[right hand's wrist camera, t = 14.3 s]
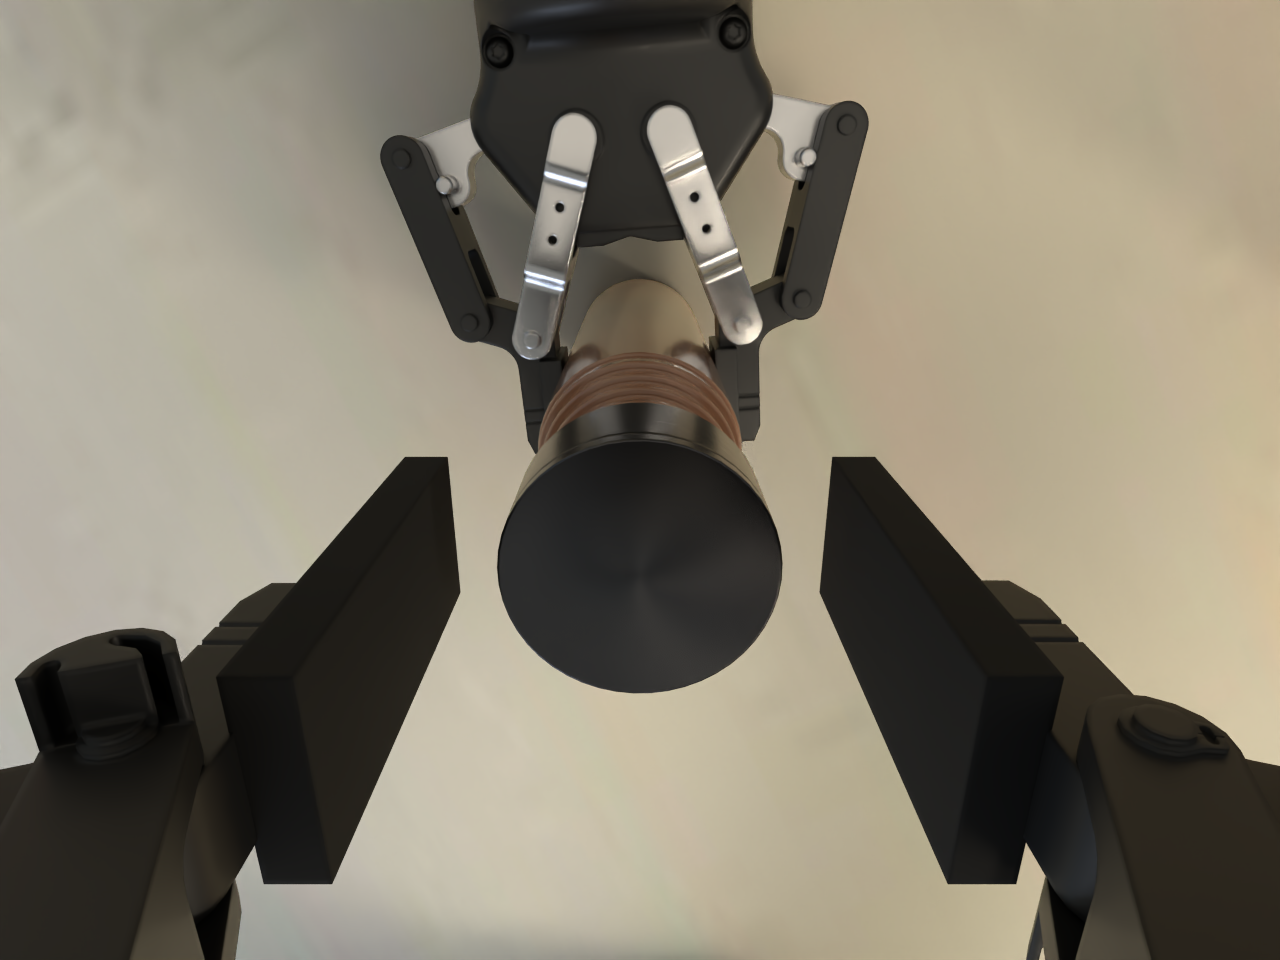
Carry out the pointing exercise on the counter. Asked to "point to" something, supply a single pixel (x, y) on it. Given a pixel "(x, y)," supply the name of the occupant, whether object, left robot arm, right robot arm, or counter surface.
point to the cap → (639, 550)
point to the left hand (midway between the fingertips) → (646, 455)
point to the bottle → (639, 360)
